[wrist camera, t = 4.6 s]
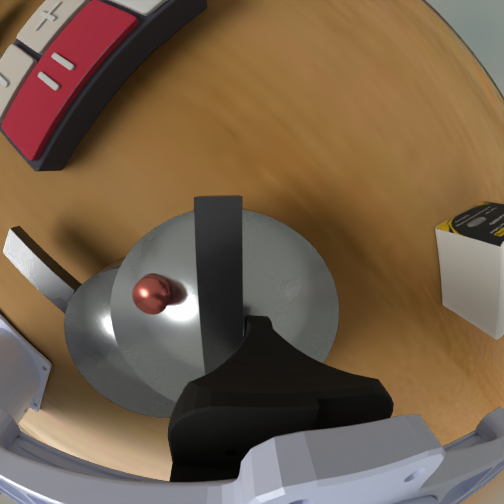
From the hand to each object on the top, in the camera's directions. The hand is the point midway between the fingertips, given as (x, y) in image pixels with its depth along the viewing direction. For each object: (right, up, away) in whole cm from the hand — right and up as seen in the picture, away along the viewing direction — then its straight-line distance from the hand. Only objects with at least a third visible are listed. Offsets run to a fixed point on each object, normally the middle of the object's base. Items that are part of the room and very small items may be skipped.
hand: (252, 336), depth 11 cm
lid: (-1, 0, +2) cm, 2 cm away
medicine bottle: (+18, +4, +7) cm, 19 cm away
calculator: (-12, +18, +1) cm, 22 cm away
